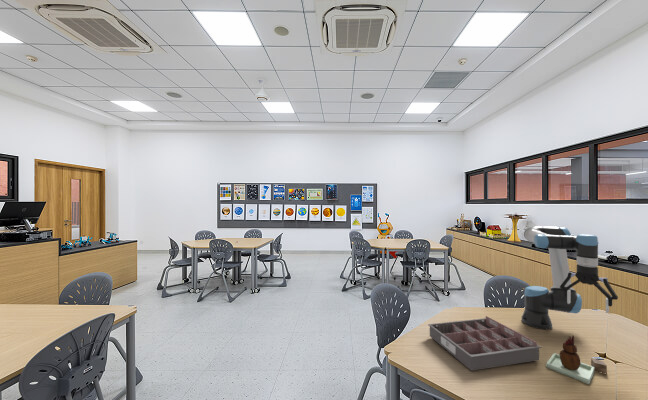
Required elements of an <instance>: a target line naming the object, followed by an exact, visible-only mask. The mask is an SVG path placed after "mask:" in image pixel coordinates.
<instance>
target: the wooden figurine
mask: <svg viewBox="0 0 648 400" xmlns="http://www.w3.org/2000/svg"><path fill="white" fill-rule="evenodd" d="M577 352H578V348H577V346H576V344H575V336H574V335H572V337H571V336H569V338H567V340H565V341H564V342H563V343H562V350H560V352H559V355H560V360H561V363H562V365H563V366H564V367H565V368H567V369H570V370H578V368H579V367H580V362H581V358H580V356H579V354H578V353H577Z"/></svg>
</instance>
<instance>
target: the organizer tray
mask: <svg viewBox="0 0 648 400" xmlns="http://www.w3.org/2000/svg"><path fill="white" fill-rule="evenodd" d="M427 326H429V337H430V338H431V339H433V340H434V341H435V342H436V343H437V344H439V345H440V346H441V347H442V348H443V349H444V350H445V351H447V352H448V353H449V354H451V355H452V356H453V358H455V359H457V360H458V362H461V363H462V365H464V366H465V367H466V368H468V369H469V370H470V371H477V370H483V369H491V368H497V367H502V366H509V365H517V364H522V363H531V362H536V361H540V349H541V348H542V346H540V345H538V344H537V343H538V342H537V341H536V340H534V339H532V338H530V337H527V336H526V335H525V334H522V333H520V332H518V331H516V330H514V329H512V328H510V327H508V326H507V325H504V324H502V323H501V322H498V321H497V320H496V319H493V318H492V317H489V316H487V315H485V317H484V318H475V319H466V320H465V319H464V320H457V321H447V322H446V321H445V322H435V323H429V324H427Z"/></svg>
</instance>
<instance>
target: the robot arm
mask: <svg viewBox="0 0 648 400" xmlns="http://www.w3.org/2000/svg"><path fill="white" fill-rule="evenodd" d="M523 236H524V239H525V240H526V241H528V242H529V243H533V244H534V246H535V247H536V248H539V249H540V248H541V249H548V254H549V262H550V269H551V278H552V286H551V287H550V290H549V288H548V287H546V286H541V285H539V286H538V285H531V286H526V287H525V288H524V294H523V295H524V310H523V313H522V315H521V322H522V323H523V324H525V325H527V326H529V327H532V328H534V329H535V328H536V329H541V330H552V329H553V323H552V319H551V317H550V315H549V310H550V311H555V312H563V313H568V314H579V313H580V312H581V310H582V306H583V299H582V296H581V295H580V294H579V293H577V291H576V289H574V288H573V287H574V286H575V285H577V284H579V283H581V284H583V285H584V284H585V285H590V286H594V287H595V288H597V290H599V291H600V293H601V294H603V295H604V296H605V314H609V313H610V307H612V306H613V301H614V300H616V301H617V300H618V299H619V296H618V295H617V294H616V292H615V290H614V288H612V286H611V285H610V283H609V279H608V277H599V267H598V266H599V238H598V236H597V235H594V234H587V233H586V234H585V233H584V234H583V233H579V234H577V235H575V234H573V235H572V234H571V232H570V229H568V228H566V227H562V226H546V225H545V226H541V225H536V226H532V227H528V228H527V229H525V230H524V232H523ZM567 250H570V251H576V272H572V271H570V267H569V261H568V260H569V259H568V253H567ZM573 277H575V278H577V279H576V280H575V281H573V282H572V278H573ZM599 281H600V282H602V283H603V284H604V286H605V287H606V289H605V288H603V286H601V284H600V283H599ZM606 290H608V291H606Z"/></svg>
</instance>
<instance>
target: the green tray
mask: <svg viewBox="0 0 648 400" xmlns="http://www.w3.org/2000/svg"><path fill="white" fill-rule="evenodd" d="M545 364H546V365H545V367H546V368H547V369H550V370H552V371H555V372H557V373H560V374H561V375H565V376H566V377H569V378H572V379H573V380H577V381H578V382H579V381H580V382H581V383H583V384H587V385H590V384H591V381H592V378H593V377H594V374H595V367H592V366H591V364H590V365H589V364H587V363H583V362H581V361H580V367H579V368H578V370H570V369H567V368H565V367H564V366H563V365H562V363H561V360H560V353H559V354H558V353H557V352H553V354H552V355H551V356H550V358H549V359H548V360H547V361H546V363H545Z"/></svg>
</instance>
